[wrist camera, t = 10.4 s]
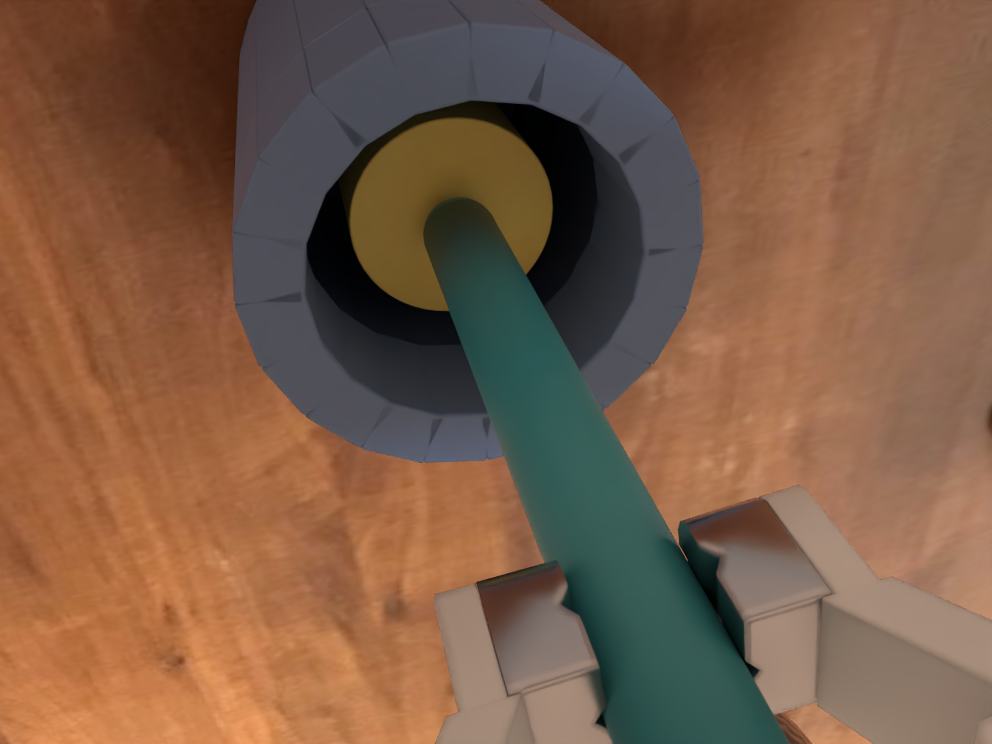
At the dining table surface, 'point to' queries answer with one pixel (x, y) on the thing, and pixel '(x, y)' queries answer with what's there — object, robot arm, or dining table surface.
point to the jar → (383, 106)
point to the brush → (549, 418)
